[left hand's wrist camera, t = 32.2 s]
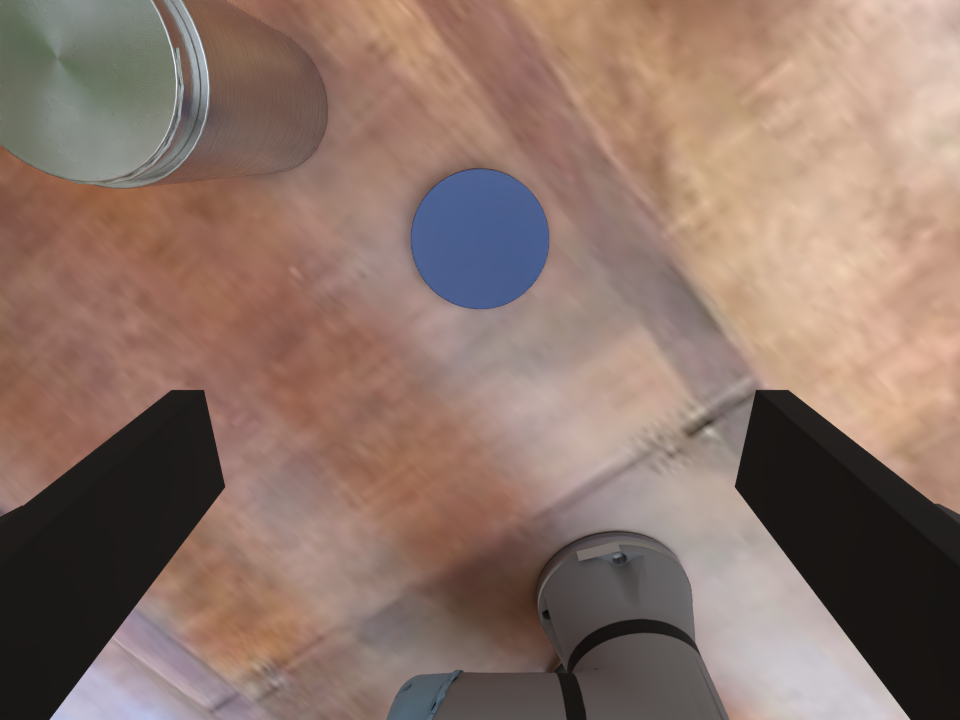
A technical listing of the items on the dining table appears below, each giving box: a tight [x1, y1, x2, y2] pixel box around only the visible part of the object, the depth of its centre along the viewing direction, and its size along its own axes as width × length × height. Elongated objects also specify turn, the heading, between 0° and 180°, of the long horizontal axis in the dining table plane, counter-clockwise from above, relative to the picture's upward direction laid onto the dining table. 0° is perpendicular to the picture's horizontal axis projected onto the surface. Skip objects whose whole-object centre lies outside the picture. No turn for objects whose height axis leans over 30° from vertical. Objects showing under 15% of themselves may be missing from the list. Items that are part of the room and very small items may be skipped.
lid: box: [411, 168, 549, 309], centre depth 39 cm, size 10×10×2 cm
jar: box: [0, 0, 327, 189], centre depth 28 cm, size 9×9×19 cm
